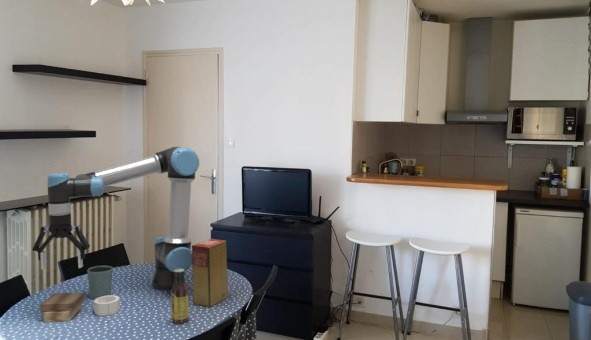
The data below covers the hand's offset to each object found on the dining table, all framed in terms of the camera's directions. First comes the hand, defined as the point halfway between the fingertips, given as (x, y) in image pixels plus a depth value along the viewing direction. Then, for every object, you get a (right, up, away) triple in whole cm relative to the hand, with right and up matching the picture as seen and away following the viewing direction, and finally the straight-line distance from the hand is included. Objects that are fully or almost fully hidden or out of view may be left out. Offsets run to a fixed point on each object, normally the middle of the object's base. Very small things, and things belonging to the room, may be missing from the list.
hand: (62, 267), depth 177 cm
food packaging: (+55, -18, +17) cm, 60 cm away
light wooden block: (0, -19, +2) cm, 19 cm away
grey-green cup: (+6, -17, +22) cm, 29 cm away
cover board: (0, -15, +1) cm, 15 cm away
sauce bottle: (+47, -19, -4) cm, 51 cm away
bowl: (+16, -18, +4) cm, 24 cm away
